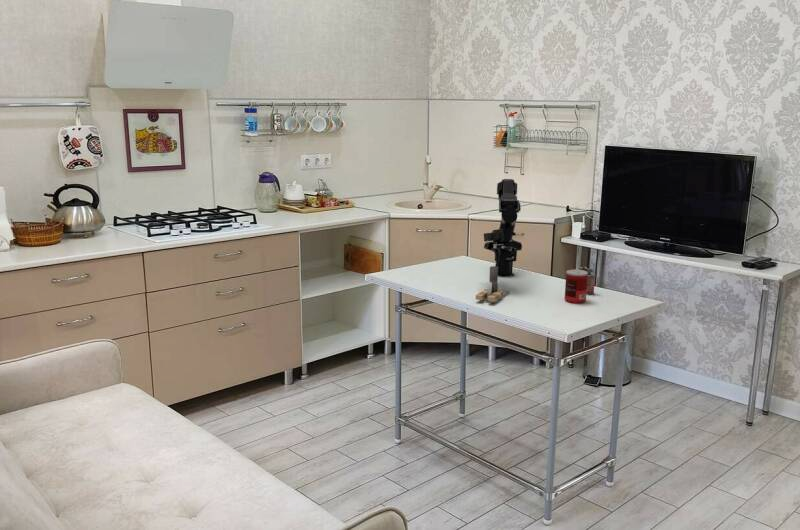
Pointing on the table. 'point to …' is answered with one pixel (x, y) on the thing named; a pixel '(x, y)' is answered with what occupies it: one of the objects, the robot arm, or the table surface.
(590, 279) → the lighter
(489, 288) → the rail
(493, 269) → the wooden base with post
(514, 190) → the robot arm
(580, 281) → the canned food
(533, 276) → the table surface
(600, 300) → the table surface
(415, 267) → the table surface
